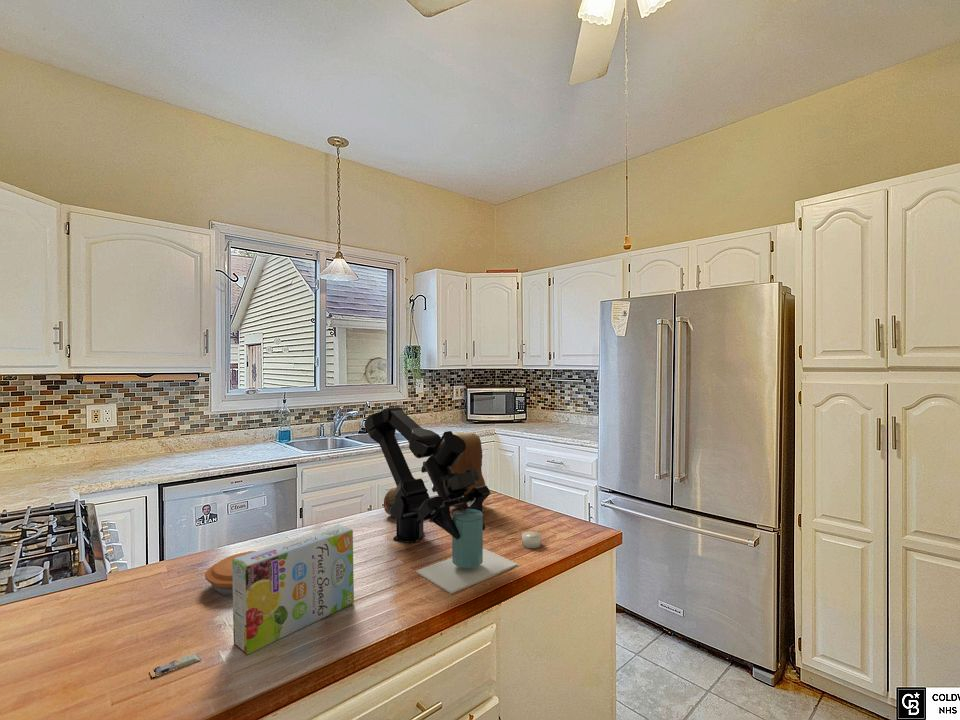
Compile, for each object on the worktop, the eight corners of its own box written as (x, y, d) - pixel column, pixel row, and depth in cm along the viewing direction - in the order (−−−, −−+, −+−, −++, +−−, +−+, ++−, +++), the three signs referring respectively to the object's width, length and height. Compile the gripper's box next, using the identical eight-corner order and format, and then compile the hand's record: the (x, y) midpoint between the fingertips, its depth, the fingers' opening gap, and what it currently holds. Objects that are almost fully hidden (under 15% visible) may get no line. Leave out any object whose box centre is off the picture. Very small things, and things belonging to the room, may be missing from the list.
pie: (207, 609, 91) (207, 584, 91) (203, 578, 104) (203, 556, 104) (290, 588, 100) (290, 565, 100) (277, 561, 113) (277, 541, 113)
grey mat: (451, 594, 97) (451, 592, 97) (415, 572, 107) (415, 570, 107) (517, 565, 110) (517, 563, 110) (481, 548, 120) (481, 547, 120)
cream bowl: (519, 546, 121) (519, 537, 121) (524, 539, 126) (524, 530, 126) (538, 549, 120) (538, 539, 120) (542, 542, 124) (542, 532, 124)
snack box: (338, 595, 97) (338, 522, 97) (354, 604, 93) (354, 529, 93) (231, 643, 80) (231, 556, 80) (246, 657, 77) (246, 566, 77)
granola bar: (197, 656, 78) (197, 650, 78) (201, 663, 76) (201, 656, 76) (148, 674, 73) (148, 668, 73) (150, 682, 71) (150, 675, 71)
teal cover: (447, 558, 110) (447, 511, 110) (473, 552, 113) (473, 507, 113) (461, 570, 104) (461, 520, 104) (488, 563, 107) (488, 515, 107)
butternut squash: (468, 499, 162) (468, 427, 162) (494, 509, 151) (494, 432, 151) (435, 507, 153) (435, 431, 153) (460, 518, 142) (460, 436, 142)
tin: (388, 519, 142) (388, 492, 142) (382, 517, 144) (381, 490, 144) (423, 507, 154) (423, 481, 154) (416, 505, 156) (416, 480, 156)
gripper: (424, 464, 105) (455, 526, 97) (485, 452, 118) (517, 507, 110) (405, 491, 111) (432, 552, 103) (465, 477, 124) (494, 531, 115)
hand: (471, 534), depth 108 cm, fingers closed on teal cover, 7 cm apart
